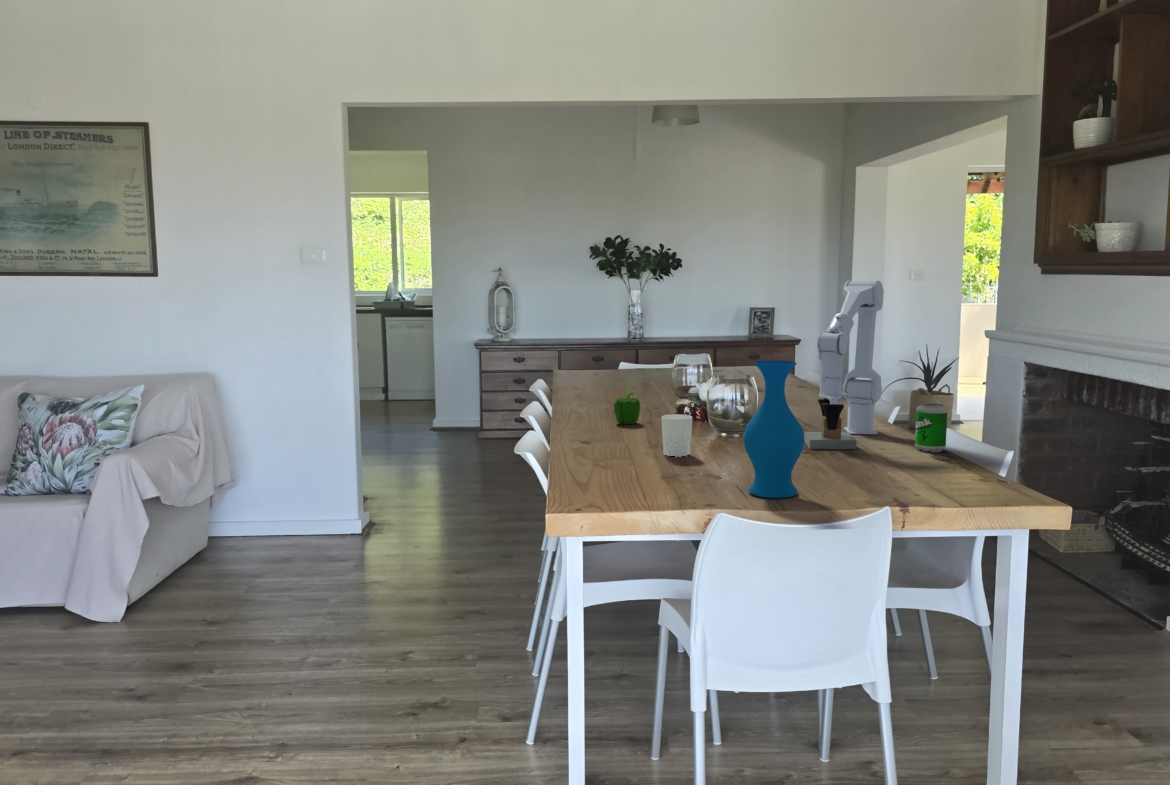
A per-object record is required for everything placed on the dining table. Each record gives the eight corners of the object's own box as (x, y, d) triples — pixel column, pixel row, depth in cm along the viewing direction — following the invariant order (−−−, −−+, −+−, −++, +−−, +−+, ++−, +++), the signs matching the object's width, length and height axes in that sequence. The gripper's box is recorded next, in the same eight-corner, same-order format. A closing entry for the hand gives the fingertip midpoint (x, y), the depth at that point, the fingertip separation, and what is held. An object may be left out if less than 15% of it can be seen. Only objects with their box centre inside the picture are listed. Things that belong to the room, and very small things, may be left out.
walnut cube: (821, 434, 239) (822, 416, 238) (838, 434, 238) (839, 416, 238) (823, 437, 235) (824, 418, 234) (840, 437, 234) (841, 419, 233)
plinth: (803, 440, 243) (804, 431, 243) (848, 441, 242) (848, 432, 242) (809, 449, 232) (809, 439, 231) (856, 449, 230) (856, 440, 230)
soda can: (940, 447, 232) (942, 402, 231) (949, 453, 225) (951, 407, 223) (911, 447, 233) (913, 402, 231) (919, 452, 225) (921, 406, 224)
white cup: (688, 458, 221) (688, 419, 220) (658, 456, 224) (658, 418, 222) (694, 452, 228) (695, 415, 227) (665, 451, 231) (665, 413, 230)
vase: (736, 487, 191) (738, 360, 187) (793, 486, 191) (796, 359, 188) (750, 501, 179) (753, 366, 175) (811, 500, 180) (814, 365, 176)
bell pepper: (623, 426, 269) (623, 394, 267) (609, 422, 276) (609, 391, 274) (646, 424, 273) (646, 392, 271) (632, 420, 280) (632, 389, 278)
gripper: (851, 380, 227) (849, 432, 228) (842, 374, 241) (841, 422, 243) (823, 380, 228) (821, 431, 229) (816, 374, 242) (815, 422, 244)
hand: (829, 427), depth 236 cm, fingers open, 7 cm apart
